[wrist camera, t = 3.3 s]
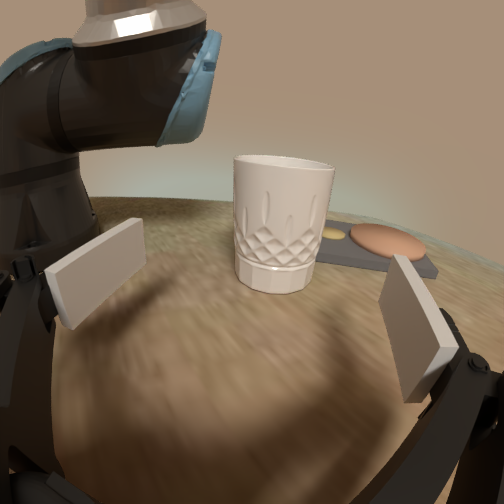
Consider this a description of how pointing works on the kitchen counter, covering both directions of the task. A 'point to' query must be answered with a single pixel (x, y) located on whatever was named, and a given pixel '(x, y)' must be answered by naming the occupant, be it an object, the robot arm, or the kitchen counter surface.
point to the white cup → (279, 220)
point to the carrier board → (371, 247)
